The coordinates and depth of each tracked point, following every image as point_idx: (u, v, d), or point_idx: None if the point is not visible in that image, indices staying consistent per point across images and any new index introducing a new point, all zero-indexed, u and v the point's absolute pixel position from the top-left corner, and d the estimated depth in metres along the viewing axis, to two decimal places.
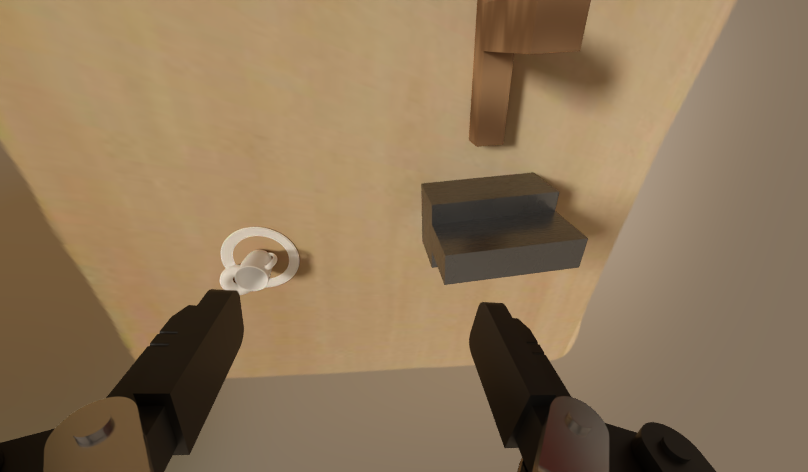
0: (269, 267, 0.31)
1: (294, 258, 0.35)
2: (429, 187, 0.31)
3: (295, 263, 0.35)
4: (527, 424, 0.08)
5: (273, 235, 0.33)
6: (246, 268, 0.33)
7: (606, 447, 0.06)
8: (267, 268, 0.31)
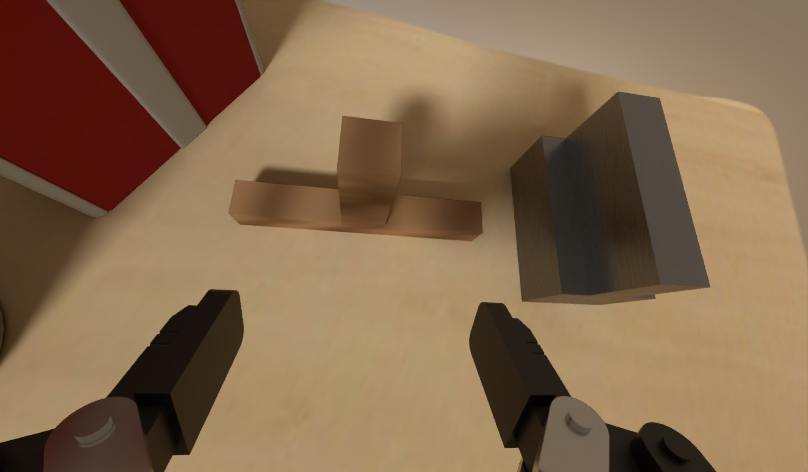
0: None
1: None
2: (528, 292, 0.24)
3: None
4: (527, 424, 0.08)
5: None
6: None
7: (606, 447, 0.06)
8: None
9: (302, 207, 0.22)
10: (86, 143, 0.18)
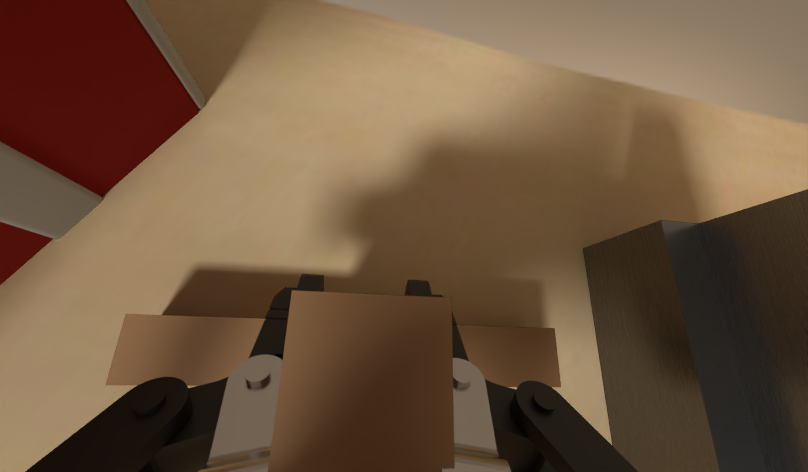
0: None
1: None
2: None
3: None
4: None
5: None
6: None
7: (478, 399, 0.07)
8: None
9: None
10: None
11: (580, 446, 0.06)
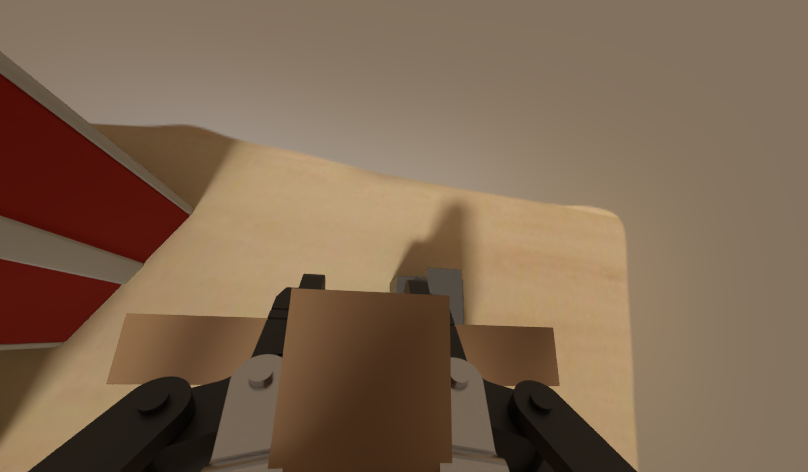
0: None
1: None
2: None
3: None
4: None
5: None
6: None
7: (475, 399, 0.07)
8: None
9: None
10: (41, 313, 0.26)
11: (578, 445, 0.06)
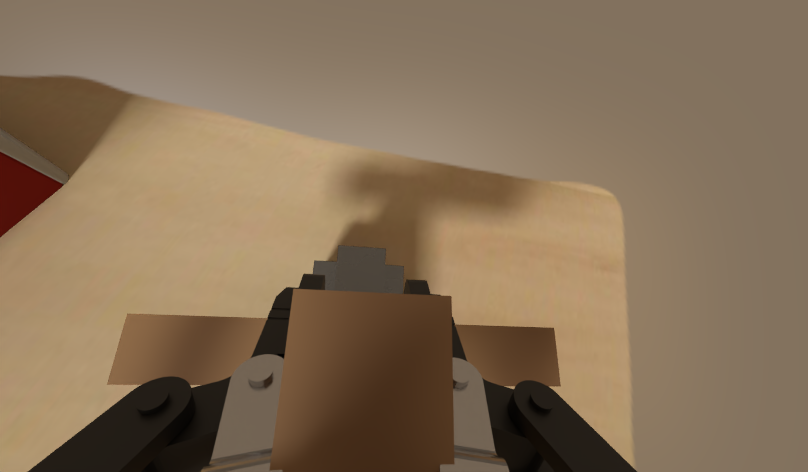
0: None
1: None
2: None
3: None
4: None
5: None
6: None
7: (475, 399, 0.07)
8: None
9: None
10: None
11: (578, 445, 0.06)
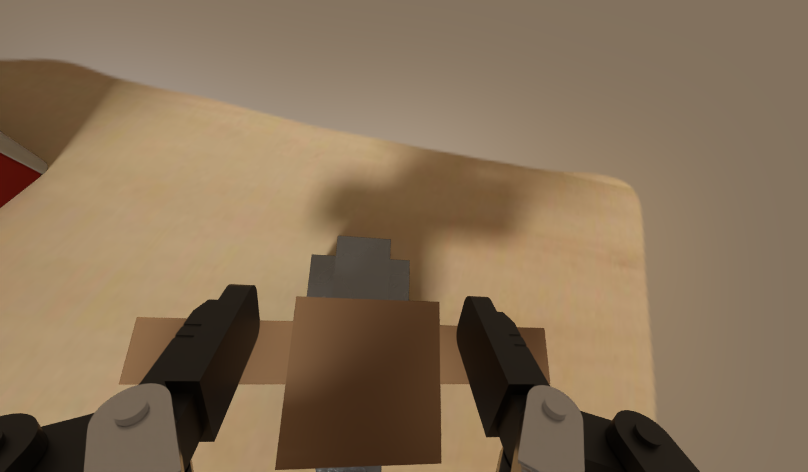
0: None
1: None
2: None
3: None
4: (506, 413, 0.08)
5: None
6: None
7: (579, 433, 0.07)
8: None
9: (252, 361, 0.13)
10: None
11: None
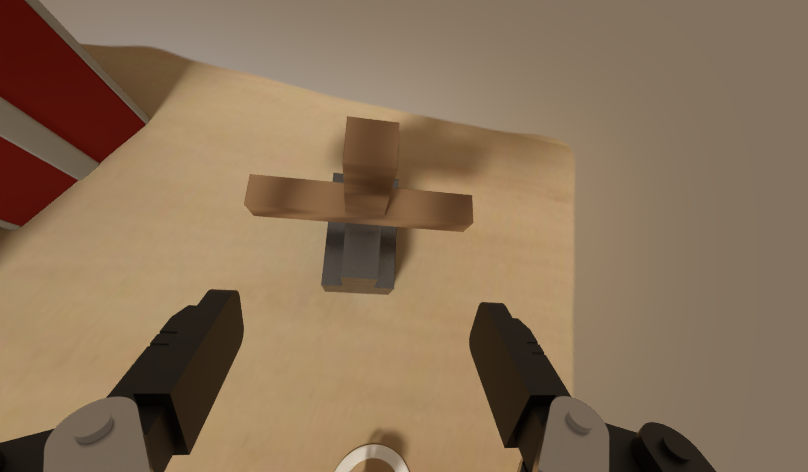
0: None
1: (377, 450, 0.31)
2: None
3: (384, 451, 0.31)
4: (527, 424, 0.08)
5: (344, 467, 0.30)
6: None
7: (606, 447, 0.06)
8: None
9: (310, 199, 0.24)
10: None
11: None
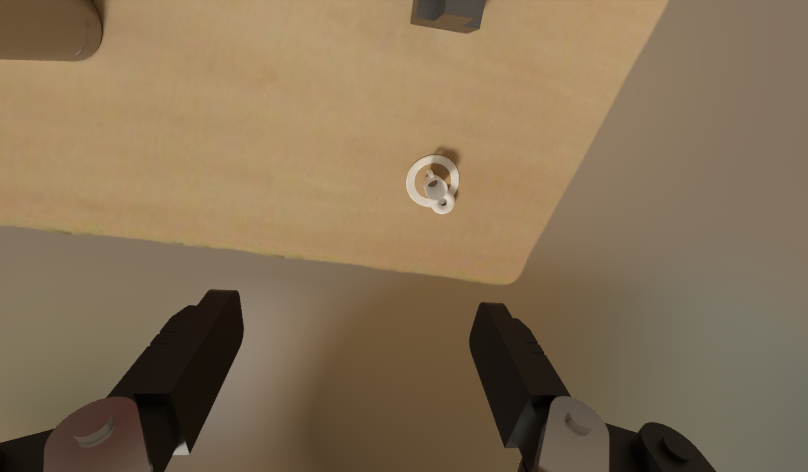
0: (432, 175, 0.43)
1: (440, 159, 0.45)
2: (412, 16, 0.36)
3: (444, 160, 0.45)
4: (527, 424, 0.08)
5: (417, 166, 0.45)
6: (433, 192, 0.46)
7: (606, 447, 0.06)
8: (432, 177, 0.43)
9: None
10: None
11: None
